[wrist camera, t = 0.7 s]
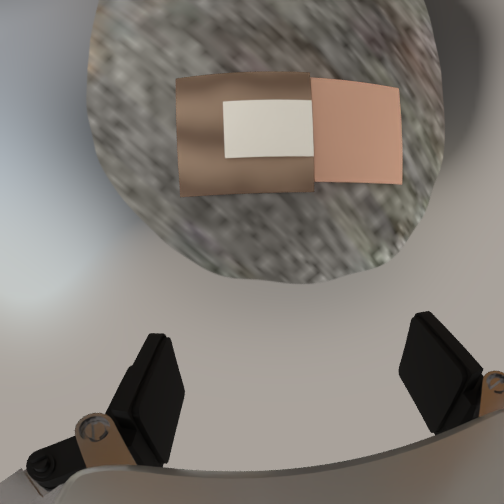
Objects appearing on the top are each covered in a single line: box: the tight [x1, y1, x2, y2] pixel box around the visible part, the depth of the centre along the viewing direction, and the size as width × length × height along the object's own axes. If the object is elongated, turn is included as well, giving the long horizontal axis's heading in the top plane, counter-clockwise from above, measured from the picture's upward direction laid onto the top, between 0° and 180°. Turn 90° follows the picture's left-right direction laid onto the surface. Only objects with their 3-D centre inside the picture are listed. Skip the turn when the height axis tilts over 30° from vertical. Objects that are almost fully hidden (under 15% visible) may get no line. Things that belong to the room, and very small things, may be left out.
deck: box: [176, 72, 314, 197], centre depth 30 cm, size 14×15×2 cm
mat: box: [310, 78, 402, 184], centre depth 31 cm, size 13×12×1 cm
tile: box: [223, 100, 314, 158], centre depth 28 cm, size 6×9×2 cm, turn 92°
